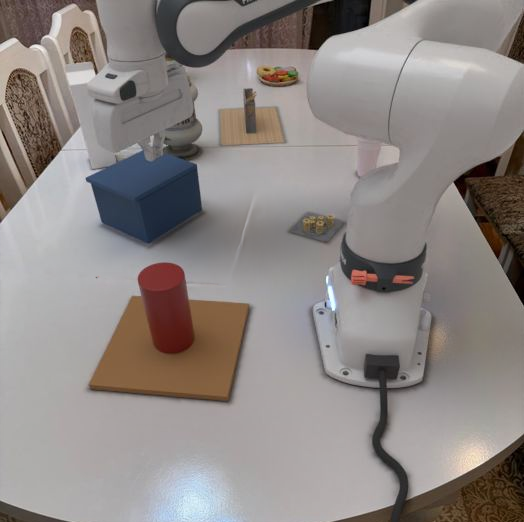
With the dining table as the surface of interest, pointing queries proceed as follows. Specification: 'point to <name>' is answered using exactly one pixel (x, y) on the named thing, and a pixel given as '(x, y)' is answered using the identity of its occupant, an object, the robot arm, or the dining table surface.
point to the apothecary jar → (184, 133)
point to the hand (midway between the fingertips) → (154, 158)
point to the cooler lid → (140, 175)
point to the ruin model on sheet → (250, 123)
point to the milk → (87, 112)
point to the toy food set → (277, 75)
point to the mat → (174, 365)
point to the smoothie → (367, 155)
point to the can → (167, 307)
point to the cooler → (151, 208)
